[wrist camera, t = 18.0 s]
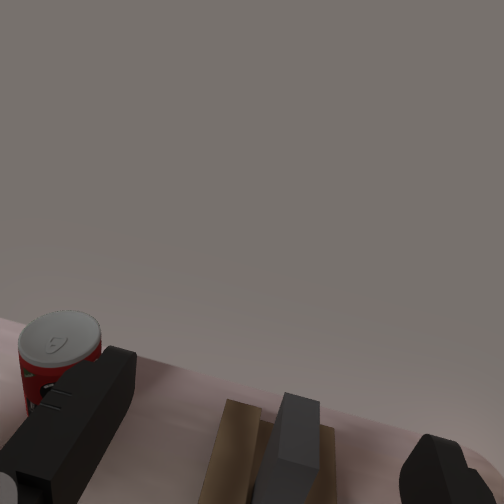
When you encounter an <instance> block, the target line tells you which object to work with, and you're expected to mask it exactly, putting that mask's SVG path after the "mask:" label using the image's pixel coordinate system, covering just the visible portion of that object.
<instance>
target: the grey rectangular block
mask: <svg viewBox="0 0 504 504" xmlns="http://www.w3.org/2000/svg"><path fill="white" fill-rule="evenodd" d="M319 445H320V402H319V401H315V400H312V399H308V398H304V397H301V396H297V395H293V394H289V393H286V392H285V394H284V397H283V400H282V403H281V405H280V408H279V411H278V414H277V417H276V420H275V423H274V426H273V429H272V432H271V435H270V438H269V441H268V444H267V447H266V450H265V453H264V456H263V459H262V462H261V465H260V468H259V471H258V474H257V477H256V480H255V483H254V486H253V491H252V497H251V503H250V504H304V502H305V499H306V497H307V495H308V493H309V491H310V489H311V487H312V484H313V482H314V480H315V478H316V476H317V474H318V471H319Z"/></svg>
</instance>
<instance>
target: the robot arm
mask: <svg viewBox="0 0 504 504" xmlns="http://www.w3.org/2000/svg"><path fill="white" fill-rule="evenodd" d="M136 361H137V354H136V352H132V351H128V350H125V349H121V348H117V347H114V346H108V347H107V348H106V349H105V350H104V351H103V353H102V354H101V355H100V357H99V358H98V359H97V361H96V362H91V361H88V360H82V361H80V362H79V363H77V364H76V365H74V366H73V367H71V368H70V369H68V370H66V371H65V372H64V373H63V374H62V376H61V377H60V378H59V379H58V381H57V382H56V383H55V384H54V385H53V387H52V388H51V391H49V392H48V393H47V394H46V395H45V397H44V398H43V399H42V400H41V401H40V404H39V405H37V406H36V408H35V409H34V410H33V411H32V412H31V414H30V415H29V416H28V417H27V419H26V420H25V421H24V422H23V424H22V425H21V426H20V427H19V428H18V430H17V431H16V432H15V433H14V435H13V436H12V437H11V438H10V439H9V441H8V442H7V443H6V444H5V446H4V447H3V448H2V449H1V451H0V504H77V503H78V501H79V499H80V497H81V495H82V493H83V492H84V490H85V488H86V486H87V484H88V482H89V481H90V479H91V477H92V475H93V473H94V471H95V470H96V468H97V466H98V464H99V462H100V460H101V459H102V457H103V455H104V453H105V451H106V450H107V448H108V446H109V444H110V442H111V440H112V439H113V437H114V435H115V433H116V431H117V429H118V428H119V426H120V424H121V422H122V420H123V418H124V417H125V415H126V413H127V411H128V409H129V406H130V404H131V401H132V398H133V394H134V389H135V375H136ZM399 491H400V497H401V502H402V504H496V501H495V498H494V496H493V493H492V492H491V490H490V489H489V487H488V486H487V485H486V483H485V482H484V480H483V479H482V478H481V476H480V475H479V473H478V472H477V470H475V469H471V468H468V466H467V463H466V460H465V458H464V455H463V452H462V450H461V447H460V446H459V444H458V443H457V442H455V441H451V440H447V439H444V438H440V437H437V436H433V435H430V434H424V435H423V436H422V437H421V439H420V440H419V442H418V443H417V445H416V446H415V448H414V449H413V451H412V452H411V454H410V455H409V457H408V458H407V460H406V461H405V463H404V464H403V466H402V469H401V472H400V477H399Z"/></svg>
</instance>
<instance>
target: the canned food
mask: <svg viewBox="0 0 504 504" xmlns="http://www.w3.org/2000/svg"><path fill="white" fill-rule="evenodd" d="M18 353H19V362H20V369H21V376H22V383H23V390H24V397H25V404H26V411H27V415H28V416H29V415H30V414H31V412H32V411H33V410H34V409H35V408H36V406H37V405H39V404H40V401H41V400H42V399H43V398H44V397H45V395H46V394H47V393H48V392H49V391H51V388H52V387H53V385H54V384H55V383H56V382H57V381H58V379H59V378H60V377H61V376H62V374H63V373H64V372H65V371H66V370H68V369H70V368H71V367H73V366H74V365H76V364H77V363H79V362H80V361H82V360H88V361H91V362H96V361H97V359H98V358H99V357H100V355H101V330H100V325H99V323H98V322H97V321H96V319H94V318H93V317H92V316H90V315H88V314H86V313H83V312H79V311H71V310H70V311H69V310H68V311H57V312H53V313H49V314H46V315H43V316H41V317H39V318H37V319H35V320H33V321H32V322H31V323H29V324H28V325H27V326H26V327H25V328H24V329H23V331H22V332H21V334H20V336H19V339H18Z"/></svg>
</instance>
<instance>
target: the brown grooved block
mask: <svg viewBox="0 0 504 504" xmlns="http://www.w3.org/2000/svg"><path fill="white" fill-rule="evenodd" d="M261 410H262V408H259V407H255V406H251V405H248V404H244V403H240V402H237V401H233V400H229V399H227V401H226V404H225V408H224V412H223V415H222V419H221V422H220V426H219V430H218V433H217V437H216V440H215V444H214V447H213V451H212V455H211V458H210V462H209V465H208V469H207V473H206V476H205V480H204V483H203V487H202V491H201V494H200V498H199V501H198V504H250V503H251V497H252V491H253V486H254V483H255V480H256V477H257V474H258V471H259V468H260V465H261V462H262V459H263V456H264V453H265V450H266V447H267V444H268V441H269V438H270V435H271V432H272V429H273V426H274V424H273V423H270V422H266V421H262V420H260V416H261ZM304 504H337V491H336V463H335V435H334V428H332V427H328V426H324V425H321V424H320V445H319V471H318V474H317V476H316V478H315V480H314V482H313V484H312V487H311V489H310V491H309V493H308V495H307V497H306V499H305V502H304Z"/></svg>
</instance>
